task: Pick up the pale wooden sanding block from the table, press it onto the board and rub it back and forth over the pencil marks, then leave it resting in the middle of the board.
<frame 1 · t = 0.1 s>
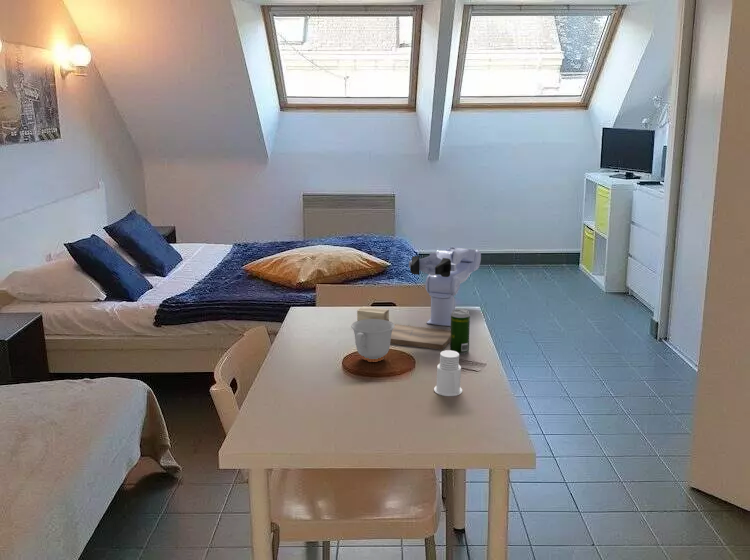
hand: (423, 269, 214), 22 cm above the table, tool horizontal, fingers open, 7 cm apart
downlight: (448, 391, 180), on the table
teacup: (370, 361, 201), on the table
sanding block: (373, 324, 235), on the table
guarana soda can: (459, 352, 208), on the table
board: (417, 338, 220), on the table
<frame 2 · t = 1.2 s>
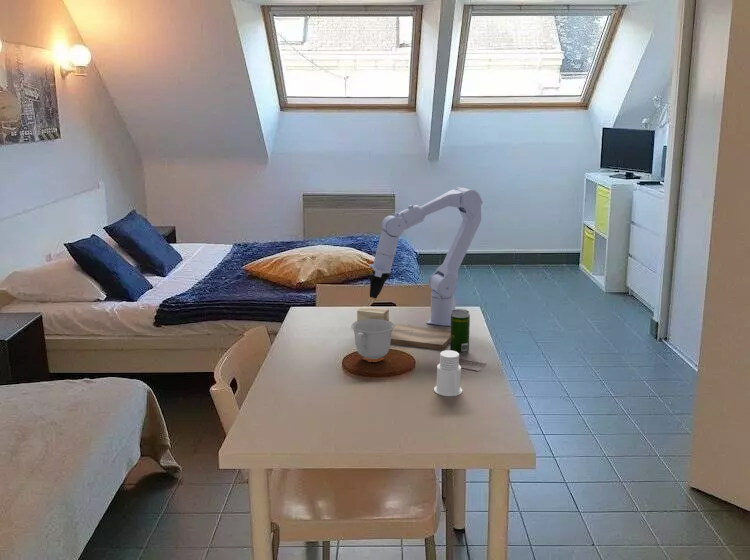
hand: (374, 295, 228), 11 cm above the table, tool tilted 15°, fingers open, 7 cm apart
nothing on the table moved.
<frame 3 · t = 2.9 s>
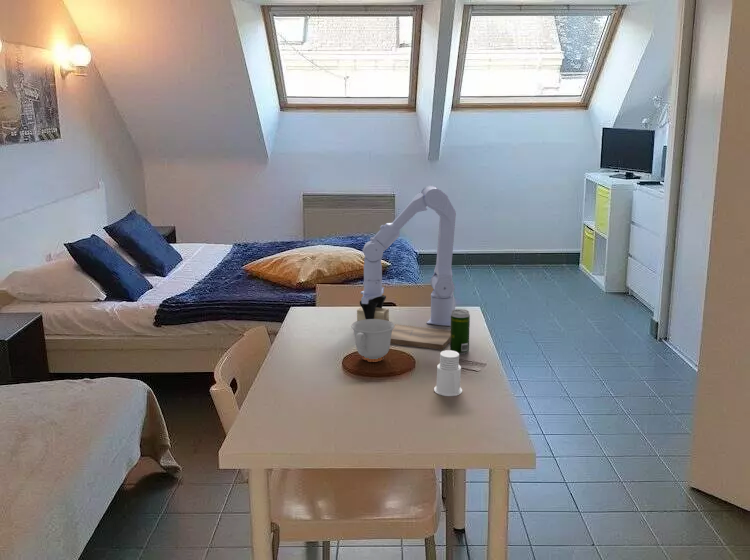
hand: (373, 320, 234), 1 cm above the table, tool pointing down, fingers closed on sanding block, 5 cm apart
sanding block: (373, 324, 235), on the table, touching gripper
everything else where it was.
when the fingers open (3 cm above the table, at t = 15.2 s): sanding block stays where it is, resting on board.
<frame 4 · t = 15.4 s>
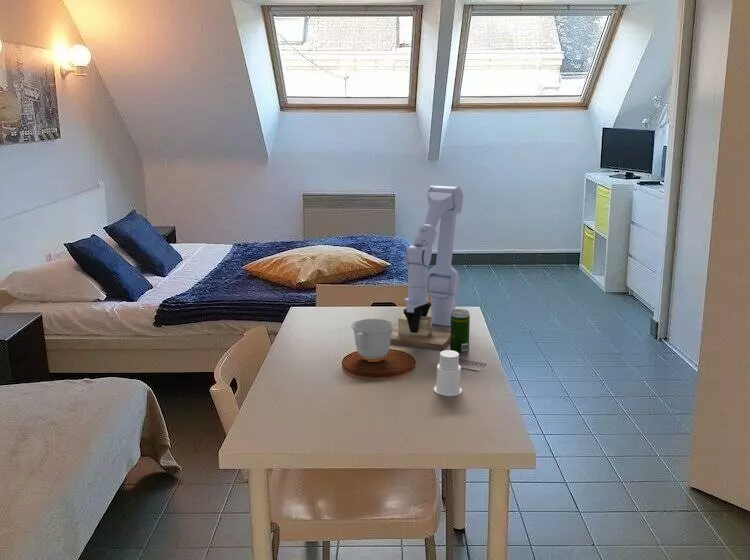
hand: (417, 329, 219), 3 cm above the table, tool pointing down, fingers open, 6 cm apart
sanding block: (415, 333, 220), point 2 cm above the table, touching board
everything else where it was.
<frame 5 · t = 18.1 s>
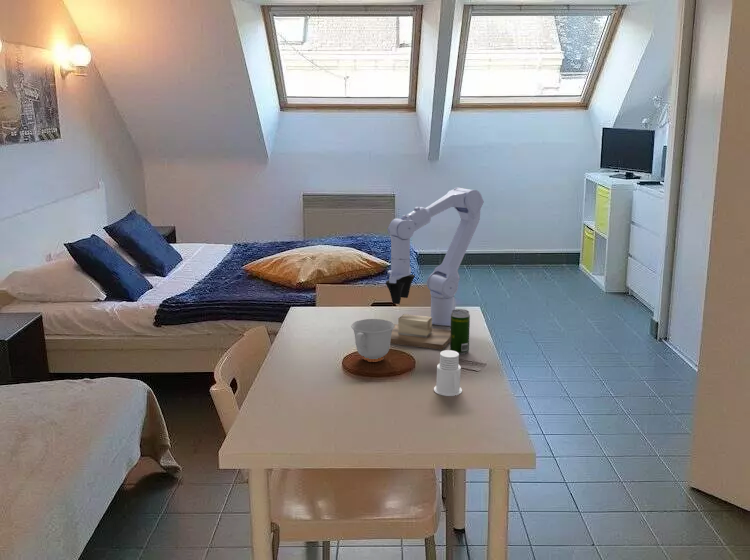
hand: (400, 300, 227), 9 cm above the table, tool pointing down, fingers open, 7 cm apart
nothing on the table moved.
at the end: sanding block inside the target area on the board (0.8 cm from its centre), point 1.5 cm above the board's base; sanding block tilted 0°; the gripper is holding nothing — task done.
